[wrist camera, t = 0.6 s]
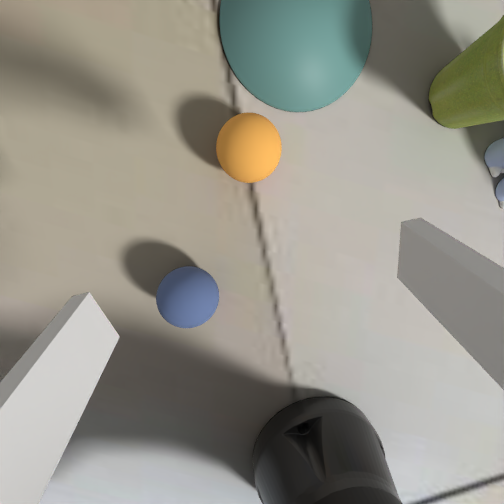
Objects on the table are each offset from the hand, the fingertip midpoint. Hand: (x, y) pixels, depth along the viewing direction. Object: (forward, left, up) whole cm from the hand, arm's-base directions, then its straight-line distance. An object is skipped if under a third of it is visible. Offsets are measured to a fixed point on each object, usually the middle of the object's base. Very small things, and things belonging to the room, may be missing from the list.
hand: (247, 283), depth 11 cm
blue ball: (-6, +2, -12) cm, 14 cm away
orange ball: (+8, +2, -12) cm, 15 cm away
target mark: (+20, +2, -15) cm, 25 cm away
